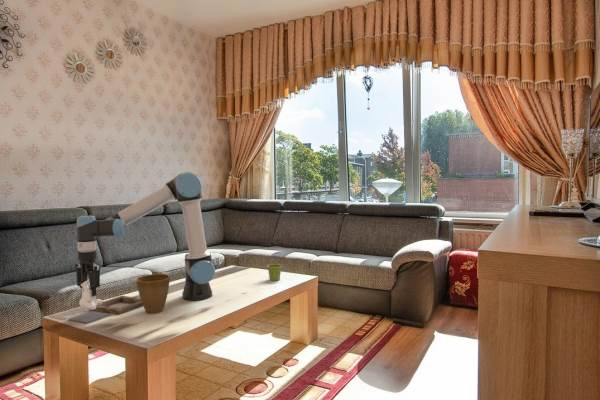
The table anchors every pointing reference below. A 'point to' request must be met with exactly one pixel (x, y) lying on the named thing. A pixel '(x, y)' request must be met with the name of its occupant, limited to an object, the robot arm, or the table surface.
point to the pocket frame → (113, 310)
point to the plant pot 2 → (274, 271)
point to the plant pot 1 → (153, 291)
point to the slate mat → (89, 317)
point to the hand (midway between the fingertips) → (89, 302)
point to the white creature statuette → (88, 298)
